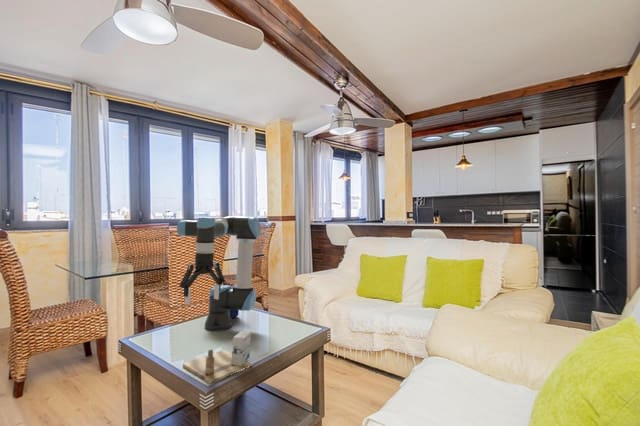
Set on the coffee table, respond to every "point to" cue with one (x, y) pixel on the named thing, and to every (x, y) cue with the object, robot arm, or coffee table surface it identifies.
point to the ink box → (241, 348)
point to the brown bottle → (209, 363)
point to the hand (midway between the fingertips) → (202, 301)
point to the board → (215, 366)
